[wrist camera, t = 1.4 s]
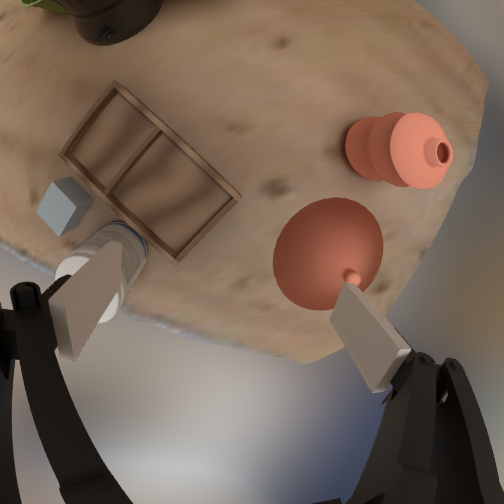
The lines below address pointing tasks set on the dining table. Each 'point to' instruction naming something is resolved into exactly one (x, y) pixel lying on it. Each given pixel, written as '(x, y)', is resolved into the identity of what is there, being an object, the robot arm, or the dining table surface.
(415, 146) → the ceramic vessels
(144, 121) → the caddy
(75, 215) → the slate block
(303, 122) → the dining table surface
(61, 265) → the supplement tub
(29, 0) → the plant pot
